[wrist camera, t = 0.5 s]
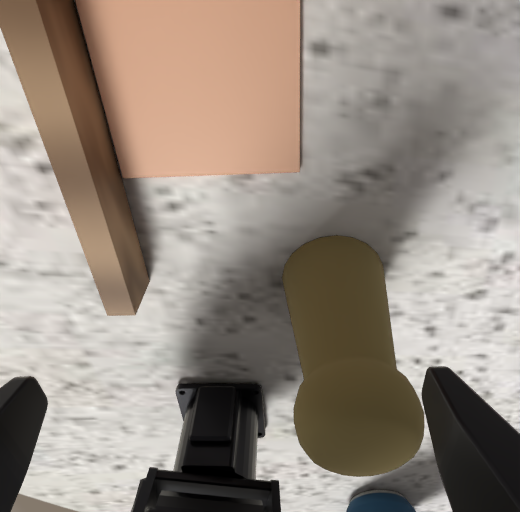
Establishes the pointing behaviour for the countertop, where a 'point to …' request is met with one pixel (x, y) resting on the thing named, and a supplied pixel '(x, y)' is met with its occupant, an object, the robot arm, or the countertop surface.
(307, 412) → the olive pepper mill
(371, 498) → the soda can
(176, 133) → the corner arena
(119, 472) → the countertop surface
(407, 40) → the countertop surface
